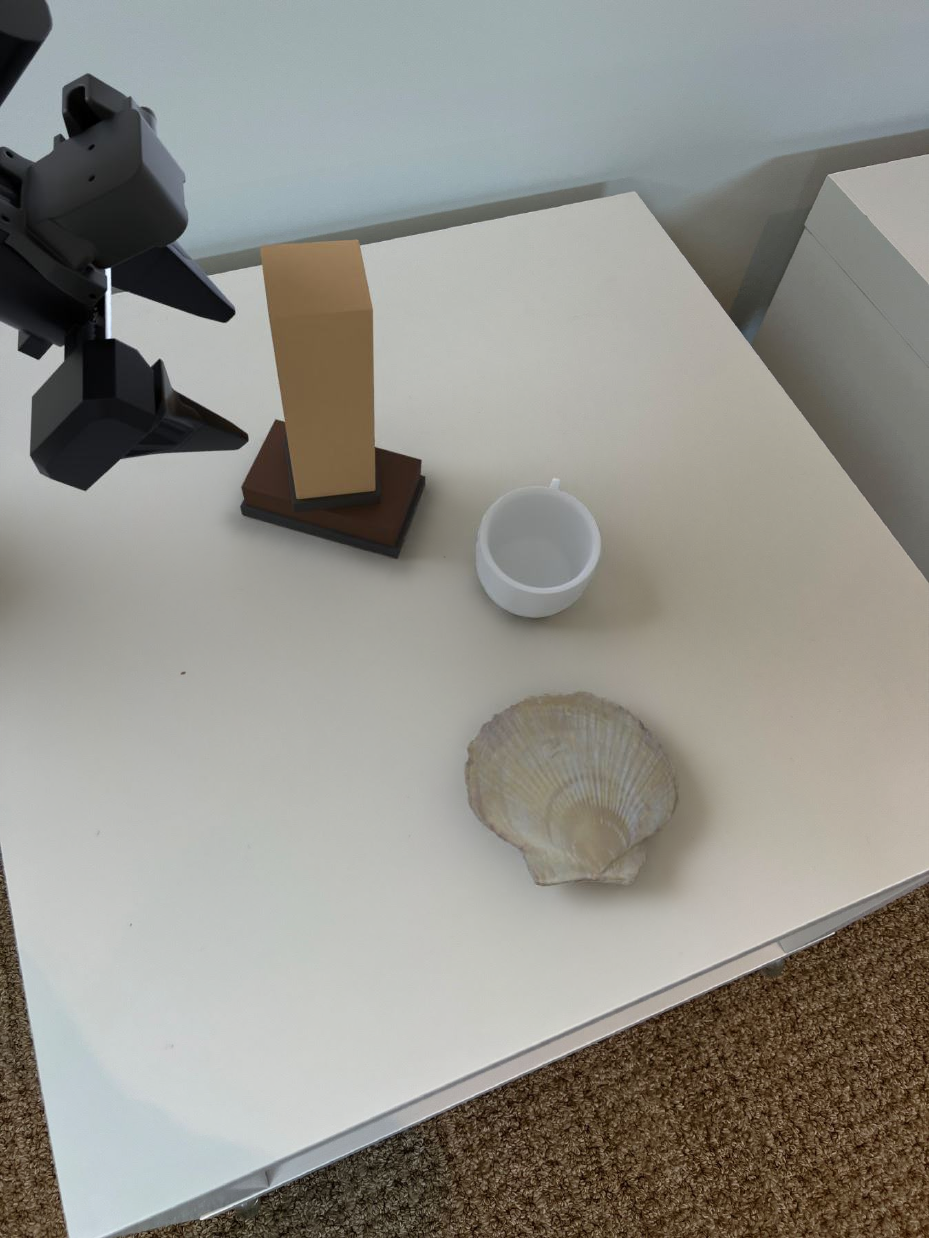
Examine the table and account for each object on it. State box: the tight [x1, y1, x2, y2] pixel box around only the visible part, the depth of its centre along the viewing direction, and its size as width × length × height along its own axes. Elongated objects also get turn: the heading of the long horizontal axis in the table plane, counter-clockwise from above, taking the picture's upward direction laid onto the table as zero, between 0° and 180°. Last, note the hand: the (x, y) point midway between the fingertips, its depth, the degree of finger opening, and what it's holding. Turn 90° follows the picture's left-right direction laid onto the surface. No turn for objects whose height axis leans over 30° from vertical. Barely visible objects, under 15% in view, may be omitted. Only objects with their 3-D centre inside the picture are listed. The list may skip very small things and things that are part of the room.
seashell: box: [463, 691, 680, 887], centre depth 50 cm, size 12×12×3 cm
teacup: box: [475, 477, 602, 619], centre depth 56 cm, size 10×8×5 cm
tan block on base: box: [259, 239, 381, 513], centre depth 50 cm, size 6×6×16 cm
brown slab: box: [239, 418, 427, 560], centre depth 58 cm, size 11×6×3 cm, turn 74°
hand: (237, 377), depth 48 cm, fingers open, 9 cm apart
